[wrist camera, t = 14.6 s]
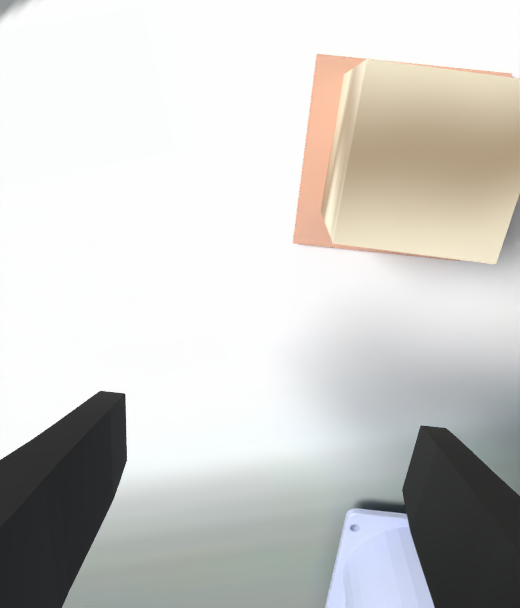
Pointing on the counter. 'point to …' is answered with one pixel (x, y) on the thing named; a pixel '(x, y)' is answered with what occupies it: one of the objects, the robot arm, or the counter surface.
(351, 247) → the pad
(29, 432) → the counter surface
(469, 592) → the robot arm
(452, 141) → the block
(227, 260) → the counter surface
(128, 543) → the counter surface
